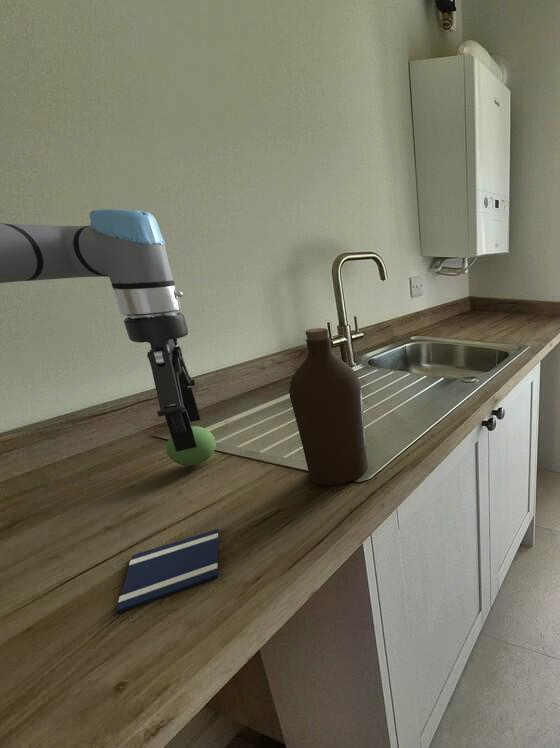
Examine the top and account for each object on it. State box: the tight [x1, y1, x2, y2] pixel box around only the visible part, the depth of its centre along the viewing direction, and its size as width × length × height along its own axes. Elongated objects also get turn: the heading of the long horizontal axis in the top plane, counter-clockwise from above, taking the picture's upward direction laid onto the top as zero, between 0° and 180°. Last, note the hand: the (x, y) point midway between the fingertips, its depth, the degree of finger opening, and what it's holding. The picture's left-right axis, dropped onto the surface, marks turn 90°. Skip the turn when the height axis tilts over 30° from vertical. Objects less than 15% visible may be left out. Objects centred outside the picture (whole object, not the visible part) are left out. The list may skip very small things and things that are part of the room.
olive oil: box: [288, 327, 369, 487], centre depth 67 cm, size 11×11×25 cm
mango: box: [165, 425, 217, 467], centre depth 73 cm, size 7×7×7 cm
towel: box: [115, 528, 220, 614], centre depth 50 cm, size 10×9×1 cm
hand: (189, 434), depth 72 cm, fingers open, 13 cm apart
